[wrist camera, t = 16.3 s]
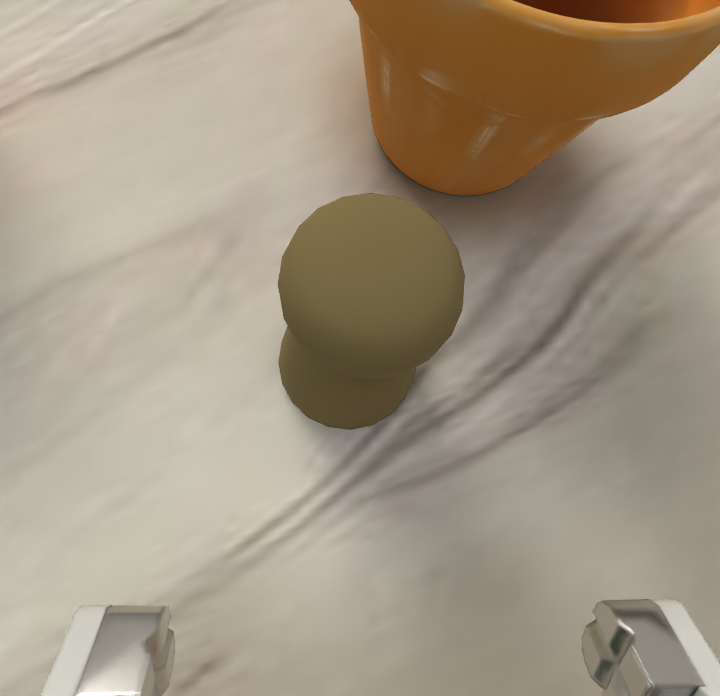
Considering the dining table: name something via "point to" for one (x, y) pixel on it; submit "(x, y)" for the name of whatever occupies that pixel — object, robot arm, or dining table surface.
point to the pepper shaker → (364, 306)
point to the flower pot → (516, 77)
